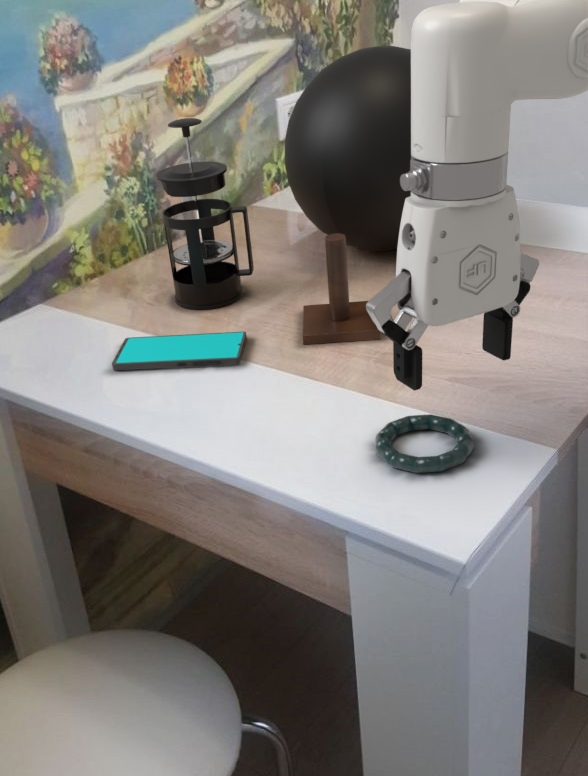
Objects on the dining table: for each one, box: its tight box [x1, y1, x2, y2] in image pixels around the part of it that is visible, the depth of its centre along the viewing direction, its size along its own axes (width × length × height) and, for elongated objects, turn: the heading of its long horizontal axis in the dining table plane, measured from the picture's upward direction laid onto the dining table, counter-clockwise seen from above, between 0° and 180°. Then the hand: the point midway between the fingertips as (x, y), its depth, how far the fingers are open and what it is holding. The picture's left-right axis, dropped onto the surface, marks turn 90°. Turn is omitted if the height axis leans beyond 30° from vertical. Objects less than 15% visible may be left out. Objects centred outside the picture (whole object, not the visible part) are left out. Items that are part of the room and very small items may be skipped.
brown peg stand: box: [302, 233, 381, 345], centre depth 104 cm, size 9×9×11 cm
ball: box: [284, 45, 411, 252], centre depth 123 cm, size 27×27×27 cm
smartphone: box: [111, 331, 248, 371], centre depth 104 cm, size 7×1×15 cm
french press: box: [155, 117, 255, 311], centre depth 113 cm, size 12×9×23 cm
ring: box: [374, 413, 475, 474], centre depth 81 cm, size 9×9×1 cm
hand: (453, 369), depth 79 cm, fingers open, 9 cm apart
